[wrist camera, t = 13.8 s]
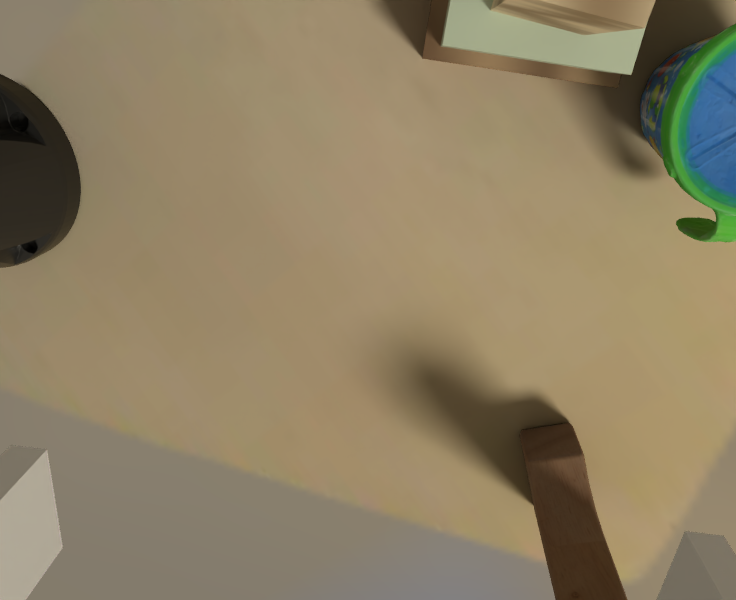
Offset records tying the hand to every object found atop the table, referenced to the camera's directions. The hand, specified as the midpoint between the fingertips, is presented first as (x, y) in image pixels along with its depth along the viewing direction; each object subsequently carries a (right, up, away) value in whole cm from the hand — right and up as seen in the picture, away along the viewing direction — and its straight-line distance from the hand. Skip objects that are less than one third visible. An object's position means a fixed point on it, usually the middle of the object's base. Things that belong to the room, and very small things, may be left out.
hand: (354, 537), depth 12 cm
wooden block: (+17, -10, +40) cm, 44 cm away
